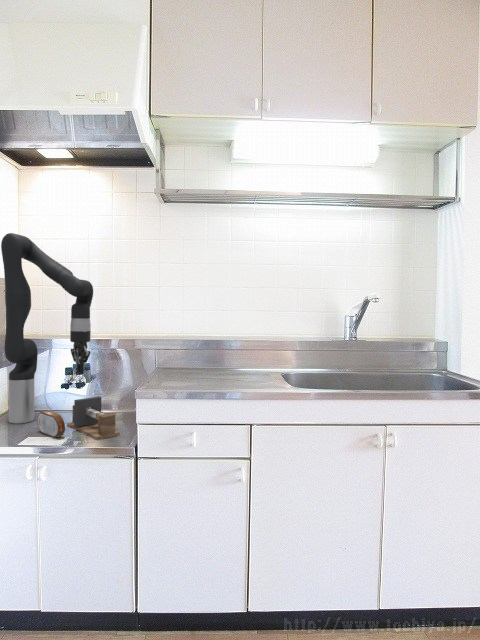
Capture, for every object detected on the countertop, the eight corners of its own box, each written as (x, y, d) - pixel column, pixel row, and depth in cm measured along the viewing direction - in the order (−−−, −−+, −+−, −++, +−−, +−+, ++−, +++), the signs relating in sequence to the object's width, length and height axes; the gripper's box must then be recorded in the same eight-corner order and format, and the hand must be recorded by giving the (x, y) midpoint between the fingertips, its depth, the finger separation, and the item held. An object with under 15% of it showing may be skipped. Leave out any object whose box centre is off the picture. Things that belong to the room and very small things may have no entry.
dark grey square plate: (74, 426, 160) (74, 399, 160) (98, 421, 167) (98, 396, 167) (76, 427, 159) (76, 400, 158) (101, 422, 166) (101, 397, 166)
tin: (65, 438, 150) (66, 414, 150) (57, 440, 148) (57, 416, 148) (43, 430, 159) (44, 408, 159) (35, 432, 157) (35, 409, 157)
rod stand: (67, 425, 165) (67, 406, 165) (89, 421, 172) (89, 402, 172) (96, 440, 149) (97, 418, 148) (119, 434, 155) (120, 413, 155)
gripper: (63, 329, 169) (63, 372, 169) (78, 331, 159) (78, 376, 160) (81, 328, 174) (81, 370, 175) (97, 330, 165) (96, 374, 165)
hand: (80, 373), depth 167 cm, fingers closed
